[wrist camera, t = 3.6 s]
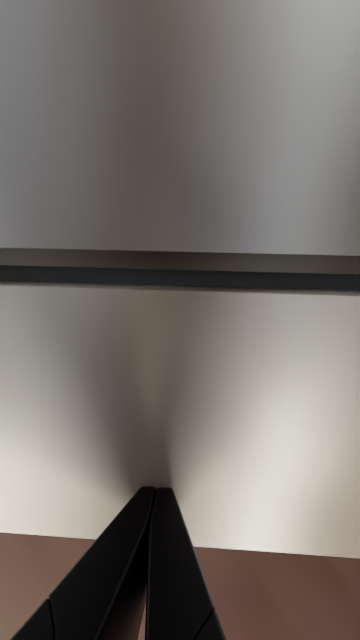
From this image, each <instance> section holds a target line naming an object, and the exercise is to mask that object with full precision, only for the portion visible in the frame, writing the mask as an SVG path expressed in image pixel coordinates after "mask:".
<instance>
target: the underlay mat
mask: <svg viewBox="0 0 360 640" xmlns="http://www.w3.org/2000/svg"><path fill="white" fill-rule="evenodd" d="M0 280H1V281H36V282H71V283H106V284H141V285H176V286H211V287H246V288H281V289H316V290H351V291H360V274H324V273H286V272H247V271H209V270H170V269H132V268H93V267H55V266H16V265H0Z"/></svg>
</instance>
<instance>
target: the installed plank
mask: <svg viewBox="0 0 360 640" xmlns="http://www.w3.org/2000/svg"><path fill="white" fill-rule="evenodd" d="M0 265H16V266H55V267H93V268H132V269H170V270H209V271H247V272H286V273H324V274H360V0H0Z"/></svg>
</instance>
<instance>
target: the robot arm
mask: <svg viewBox="0 0 360 640" xmlns="http://www.w3.org/2000/svg"><path fill="white" fill-rule="evenodd" d="M145 602H146V624H145V640H226V637H225V635H224V632H223V629H222V626H221V624H220V621H219V618H218V615H217V613H216V612H215V607H214V604H213V601H212V599H211V596H210V593H209V590H208V587H207V584H206V581H205V579H204V576H203V573H202V570H201V567H200V564H199V561H198V559H197V556H196V553H195V550H194V547H193V544H192V541H191V539H190V536H189V533H188V530H187V527H186V524H185V521H184V519H183V516H182V513H181V510H180V507H179V504H178V501H177V499H176V496H175V493H174V490H173V489H172V488H169V487H159V488H158V489H156V487H152V486H142V487H140V488H139V490H138V491H137V492H136V493H135V494H134V496H133V497H132V498H131V499H130V500H129V501H128V503H127V504H126V505H125V506H124V507H123V509H122V510H121V511H120V512H119V513H118V514H117V516H116V517H115V518H114V519H113V520H112V521H111V523H110V524H109V525H108V526H107V527H106V529H105V530H104V531H103V532H102V533H101V534H100V536H99V537H98V538H97V539H96V540H95V542H94V543H93V544H92V545H91V546H90V547H89V549H88V550H87V551H86V552H85V553H84V554H83V556H82V557H81V558H80V559H79V560H78V562H77V563H76V564H75V565H74V566H73V567H72V569H71V570H70V571H69V572H68V573H67V575H66V576H65V577H64V578H63V579H62V580H61V582H60V583H59V584H58V585H57V586H56V587H55V589H54V590H53V591H52V592H51V593H50V595H49V598H46V599H45V600H44V601H43V603H42V604H41V605H40V606H39V607H38V608H37V610H36V611H35V612H34V613H33V614H32V616H31V617H30V618H29V619H28V620H27V621H26V622H25V623H24V625H23V626H22V627H21V628H20V629H19V630H18V631H17V632H16V634H15V635H14V636H13V637H12V638H11V639H10V640H137V639H138V634H139V629H140V625H141V620H142V616H143V611H144V607H145Z"/></svg>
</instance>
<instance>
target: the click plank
mask: <svg viewBox="0 0 360 640" xmlns="http://www.w3.org/2000/svg"><path fill="white" fill-rule="evenodd" d="M142 486H152V487H156V489H158V488H159V487H169V488H172V489H173V490H174V493H175V496H176V499H177V501H178V504H179V507H180V510H181V513H182V516H183V519H184V521H185V524H186V527H187V530H188V533H189V536H190V539H191V541H192V544H193V546H196V547H210V548H223V549H237V550H251V551H265V552H279V553H292V554H306V555H320V556H334V557H348V558H360V291H351V290H316V289H281V288H246V287H211V286H176V285H141V284H106V283H71V282H36V281H1V280H0V532H3V533H16V534H30V535H44V536H58V537H72V538H85V539H97V538H98V537H99V536H100V534H101V533H102V532H103V531H104V530H105V529H106V527H107V526H108V525H109V524H110V523H111V521H112V520H113V519H114V518H115V517H116V516H117V514H118V513H119V512H120V511H121V510H122V509H123V507H124V506H125V505H126V504H127V503H128V501H129V500H130V499H131V498H132V497H133V496H134V494H135V493H136V492H137V491H138V490H139V488H140V487H142Z"/></svg>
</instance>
